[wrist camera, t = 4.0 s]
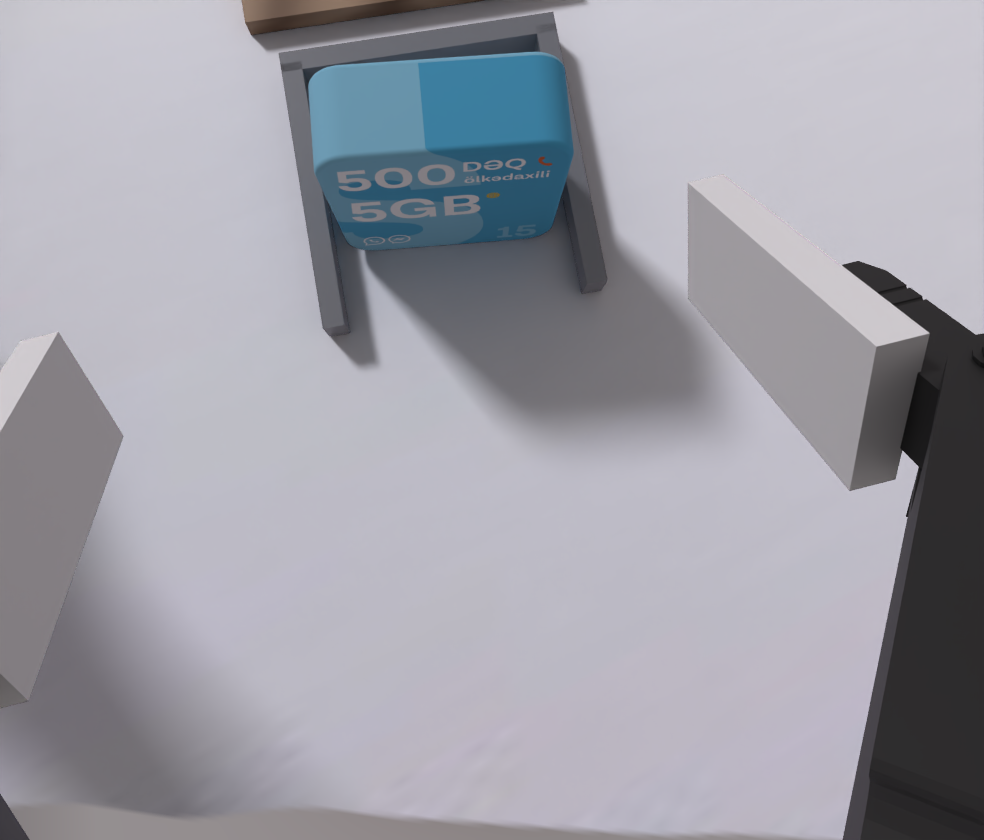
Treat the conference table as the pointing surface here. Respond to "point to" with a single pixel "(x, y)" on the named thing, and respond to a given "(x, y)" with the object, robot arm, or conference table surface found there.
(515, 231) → the data package
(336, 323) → the grey u-shaped frame
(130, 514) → the conference table surface
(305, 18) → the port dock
